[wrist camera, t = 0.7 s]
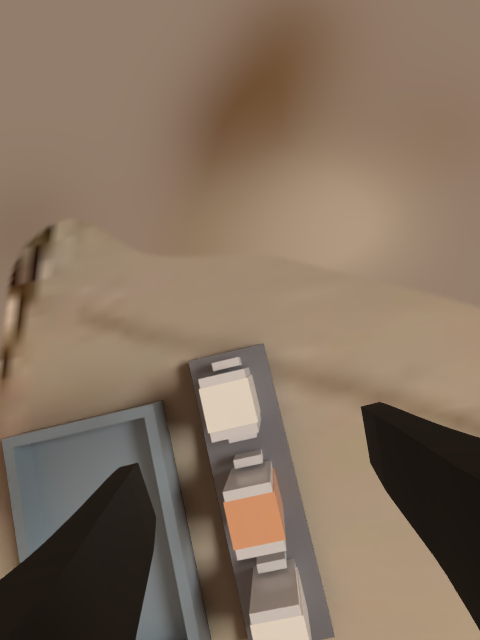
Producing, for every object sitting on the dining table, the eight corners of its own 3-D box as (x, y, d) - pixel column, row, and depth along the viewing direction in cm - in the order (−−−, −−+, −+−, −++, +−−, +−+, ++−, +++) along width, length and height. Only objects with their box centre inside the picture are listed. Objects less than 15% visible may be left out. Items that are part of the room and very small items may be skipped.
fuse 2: (309, 617, 26) (318, 678, 21) (265, 626, 26) (263, 688, 21) (295, 558, 26) (300, 604, 21) (252, 567, 27) (247, 614, 22)
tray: (211, 640, 27) (205, 667, 25) (60, 669, 28) (39, 698, 26) (162, 400, 30) (152, 404, 27) (23, 432, 30) (1, 439, 28)
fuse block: (332, 624, 27) (338, 655, 24) (252, 639, 27) (249, 671, 24) (263, 344, 29) (262, 342, 27) (191, 361, 30) (183, 361, 27)
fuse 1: (262, 418, 28) (260, 431, 23) (221, 428, 28) (210, 443, 23) (250, 366, 28) (245, 368, 23) (209, 376, 28) (196, 379, 23)
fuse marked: (285, 515, 27) (288, 550, 22) (242, 524, 27) (235, 560, 22) (272, 459, 27) (271, 481, 22) (230, 468, 27) (220, 492, 22)
